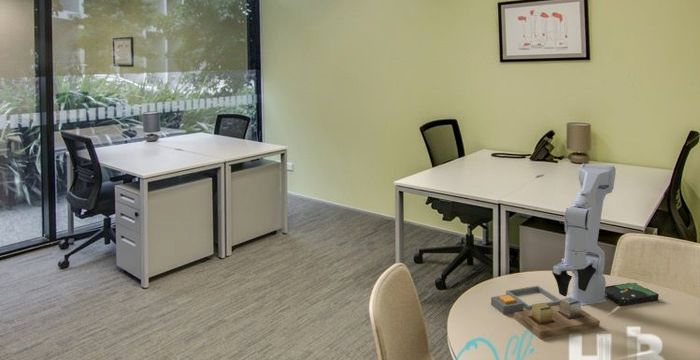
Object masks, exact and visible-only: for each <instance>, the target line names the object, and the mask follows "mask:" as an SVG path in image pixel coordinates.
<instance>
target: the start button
mask: <svg viewBox="0 0 700 360" xmlns="http://www.w3.org/2000/svg"><path fill="white" fill-rule="evenodd" d="M505 295H506V294H505ZM499 296H500V297H499V300H500V301H502V302H503V303H504V304H509V303H515V302H516V300H515V299H514V298H512V297H511V296H510V295H506V296H502V295H499Z"/></svg>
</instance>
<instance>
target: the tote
mask: <svg viewBox="0 0 700 360" xmlns="http://www.w3.org/2000/svg"><path fill="white" fill-rule="evenodd" d="M531 293H540V294H542V295H543V296H544V297H546V298H547V299H549V300H550V301H548V302H544V303H545V304H547V305H548V306H556V305H560V300H561V299H560V298H558V297H557V296H556V295H553V294H552V293H551V292H549V291H547V290H546V289H544V288H543V287H541V286H539V285H534V286H527V287H520V288H515V289H508V290H505V295H508V294H511V295H513V296H514V297H515V298H517V299H518V300H520V301H521V302H522V303H524V306H523V309H525V311H527V310H532V305H533V304H530V305H529V304H528V303H526V302H525V301H523V300H522V299H520V298H519V297H518V295H524V294H531Z"/></svg>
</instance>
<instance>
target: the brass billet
mask: <svg viewBox="0 0 700 360" xmlns="http://www.w3.org/2000/svg"><path fill="white" fill-rule="evenodd" d="M545 303H546V302H539V303H534V304H531V305H532V316H531V319H532V320H533V321H534V322H536V323H537V324H538V325H544V324H549V323H552V314H553V308H551V307H550V306H548V305H547V304H545Z"/></svg>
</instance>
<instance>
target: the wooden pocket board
mask: <svg viewBox="0 0 700 360" xmlns="http://www.w3.org/2000/svg"><path fill="white" fill-rule="evenodd" d="M550 307H551V308H553V314H552V323H549V324H544V325H538V324H537V323H536V322H534V321H533V320H532V319H531V316H532V310H523V311H521V312H515V313H514V317H513V319H514V320H515V321H516V322H517V323H519V324H520V325H521V326H523V327H524V328H525V329H526V330H528V331H529V332H530V333H531V334H533V336H535V337H537V338H538V339H539V340H540V339H544V338H549V337H554V336H555V337H556V336H560V335H567V334H572V333H577V332H583V331H586V330H591V329H593V330H594V329H597V328H600V325H601V324H600V322H601V321H600V320H599V319H598V318H596V317H594V316H593V315H592V314H590V313H588V312H586V311H585V310H583V309H582V308H581V310H580V318H577V319H571V320H569V319H567V318H566V317H564V316H563V315H561V314H560V313H559V310H560V305H556V306H550Z"/></svg>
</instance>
